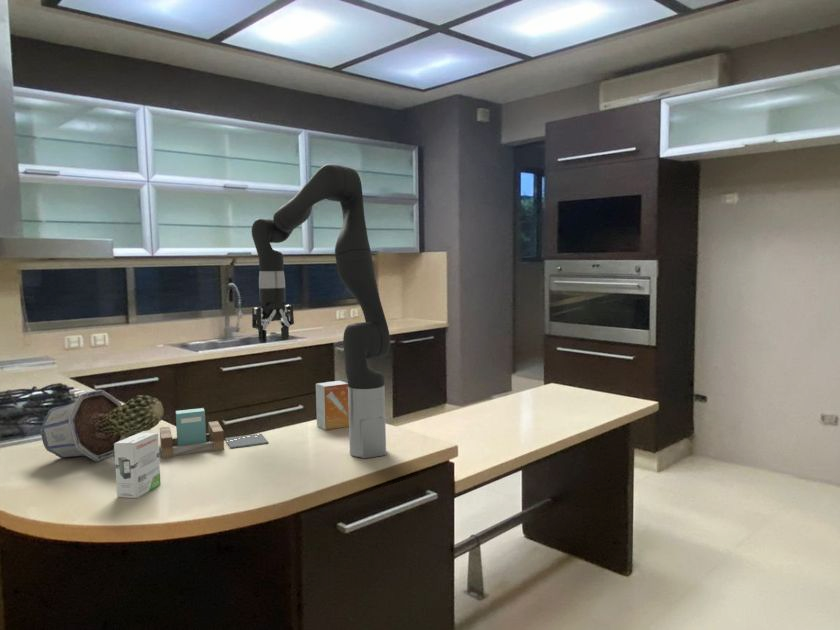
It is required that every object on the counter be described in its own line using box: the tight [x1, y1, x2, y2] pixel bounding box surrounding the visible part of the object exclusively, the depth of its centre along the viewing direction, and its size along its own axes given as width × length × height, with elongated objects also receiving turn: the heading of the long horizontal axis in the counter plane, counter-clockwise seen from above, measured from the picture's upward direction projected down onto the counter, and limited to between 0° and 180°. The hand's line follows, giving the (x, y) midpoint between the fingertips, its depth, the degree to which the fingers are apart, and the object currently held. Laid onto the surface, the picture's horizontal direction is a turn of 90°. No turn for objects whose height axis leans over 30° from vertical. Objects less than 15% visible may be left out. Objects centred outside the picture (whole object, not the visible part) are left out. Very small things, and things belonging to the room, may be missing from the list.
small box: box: [315, 380, 349, 431], centre depth 183 cm, size 8×6×13 cm
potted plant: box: [40, 389, 165, 462], centre depth 156 cm, size 18×18×30 cm
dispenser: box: [159, 420, 225, 459], centre depth 164 cm, size 12×15×5 cm
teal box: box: [175, 407, 207, 446], centre depth 164 cm, size 4×7×10 cm, turn 115°
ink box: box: [114, 432, 161, 499], centre depth 132 cm, size 9×5×12 cm, turn 169°
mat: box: [224, 433, 269, 449], centre depth 169 cm, size 10×10×1 cm
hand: (274, 341), depth 183 cm, fingers open, 8 cm apart
